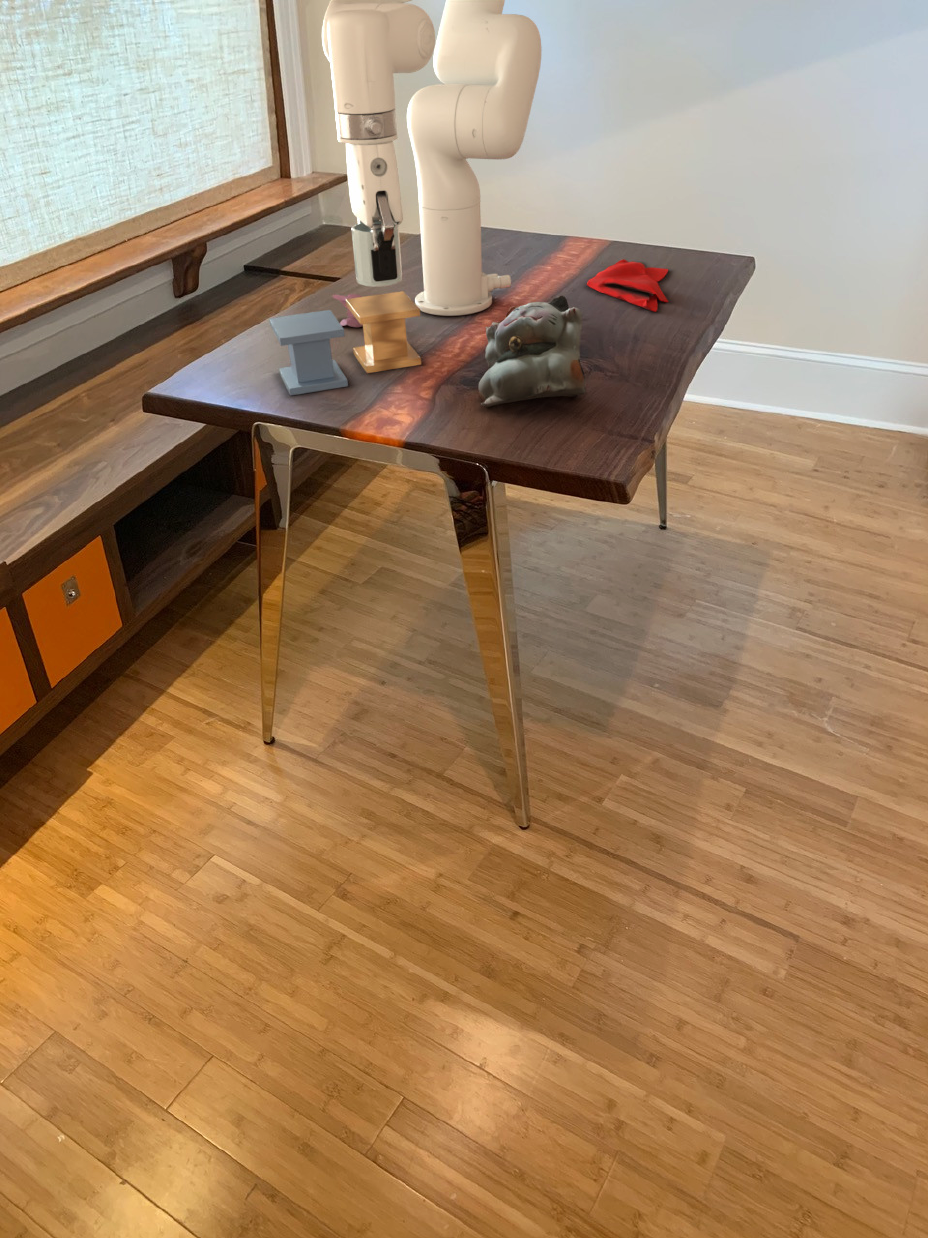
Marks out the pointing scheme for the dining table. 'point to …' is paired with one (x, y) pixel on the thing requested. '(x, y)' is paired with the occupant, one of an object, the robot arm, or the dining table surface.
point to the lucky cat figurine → (534, 354)
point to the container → (363, 255)
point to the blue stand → (309, 351)
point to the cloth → (631, 283)
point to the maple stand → (384, 331)
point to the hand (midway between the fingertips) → (378, 271)
